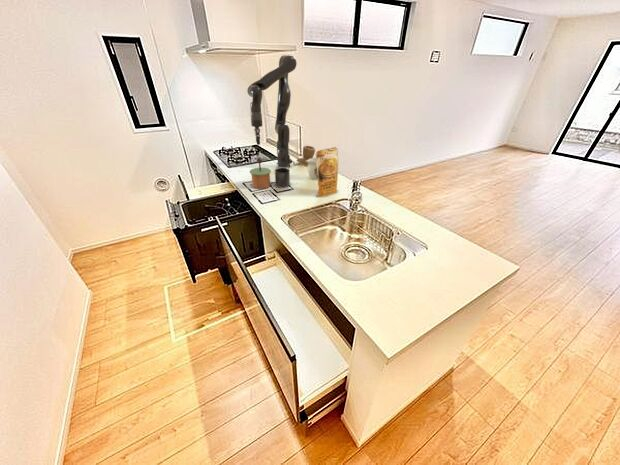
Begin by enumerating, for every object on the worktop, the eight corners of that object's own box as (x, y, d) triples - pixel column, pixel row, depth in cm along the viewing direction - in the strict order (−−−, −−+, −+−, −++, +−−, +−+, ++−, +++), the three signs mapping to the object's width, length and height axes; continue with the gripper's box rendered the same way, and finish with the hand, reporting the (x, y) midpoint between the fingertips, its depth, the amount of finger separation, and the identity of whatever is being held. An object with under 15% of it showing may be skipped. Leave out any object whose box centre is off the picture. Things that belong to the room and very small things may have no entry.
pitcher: (330, 177, 189) (331, 159, 182) (310, 182, 180) (310, 163, 173) (321, 173, 197) (322, 155, 189) (301, 177, 188) (301, 159, 181)
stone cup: (317, 165, 212) (317, 147, 204) (304, 167, 207) (304, 149, 199) (308, 160, 223) (308, 143, 215) (296, 162, 218) (295, 144, 210)
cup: (287, 181, 182) (286, 167, 176) (291, 186, 174) (291, 171, 168) (273, 182, 178) (273, 168, 173) (277, 188, 171) (277, 173, 165)
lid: (267, 168, 177) (266, 153, 172) (273, 174, 166) (272, 159, 161) (247, 170, 172) (246, 155, 167) (252, 177, 162) (250, 161, 156)
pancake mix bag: (311, 194, 162) (312, 150, 147) (333, 188, 172) (337, 145, 157) (318, 198, 158) (319, 152, 143) (340, 191, 168) (344, 148, 153)
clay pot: (267, 181, 181) (266, 168, 176) (272, 187, 171) (271, 173, 166) (251, 183, 177) (249, 169, 172) (254, 189, 167) (253, 175, 162)
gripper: (262, 120, 170) (264, 145, 179) (261, 117, 182) (262, 140, 190) (251, 120, 168) (253, 145, 177) (250, 117, 180) (252, 141, 189)
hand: (258, 143), depth 184 cm, fingers open, 8 cm apart
